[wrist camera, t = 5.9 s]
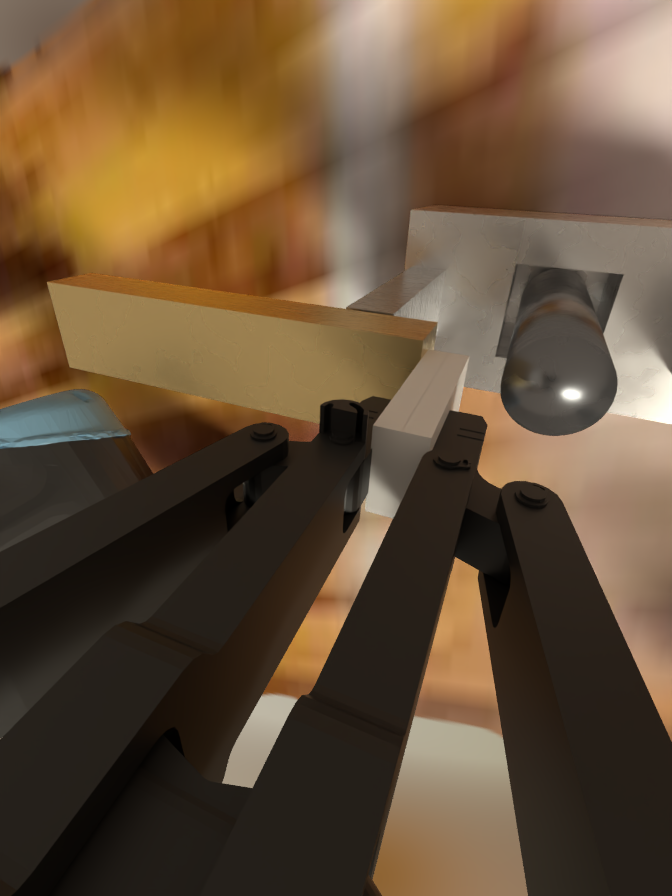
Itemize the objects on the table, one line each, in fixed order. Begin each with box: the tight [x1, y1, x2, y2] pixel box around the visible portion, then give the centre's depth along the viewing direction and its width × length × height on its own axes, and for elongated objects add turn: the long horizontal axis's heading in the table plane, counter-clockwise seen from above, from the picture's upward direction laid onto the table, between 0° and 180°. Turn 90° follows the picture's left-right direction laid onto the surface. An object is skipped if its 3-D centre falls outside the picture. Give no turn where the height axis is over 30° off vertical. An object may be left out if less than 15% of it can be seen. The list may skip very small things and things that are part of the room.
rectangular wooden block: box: [47, 273, 438, 424], centre depth 20 cm, size 17×4×2 cm, turn 88°
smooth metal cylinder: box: [500, 268, 618, 436], centre depth 24 cm, size 4×4×16 cm
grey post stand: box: [346, 205, 672, 424], centre depth 25 cm, size 18×10×18 cm, turn 88°
